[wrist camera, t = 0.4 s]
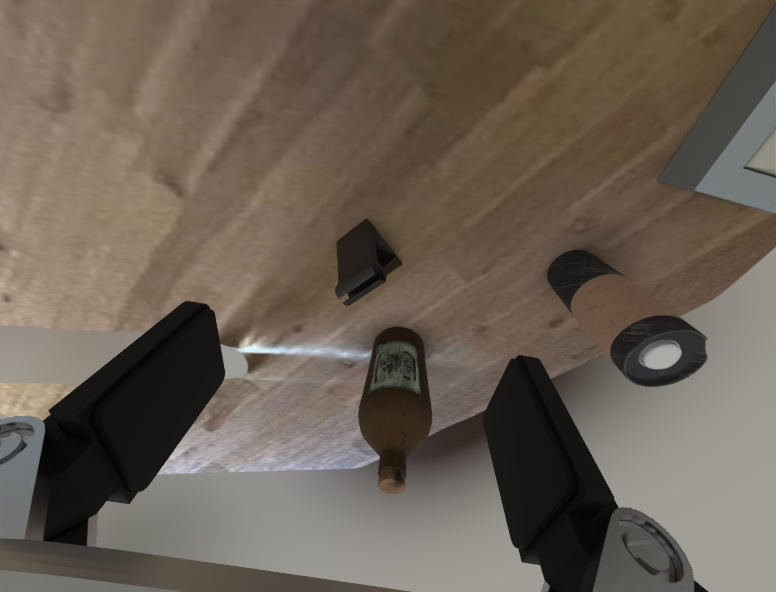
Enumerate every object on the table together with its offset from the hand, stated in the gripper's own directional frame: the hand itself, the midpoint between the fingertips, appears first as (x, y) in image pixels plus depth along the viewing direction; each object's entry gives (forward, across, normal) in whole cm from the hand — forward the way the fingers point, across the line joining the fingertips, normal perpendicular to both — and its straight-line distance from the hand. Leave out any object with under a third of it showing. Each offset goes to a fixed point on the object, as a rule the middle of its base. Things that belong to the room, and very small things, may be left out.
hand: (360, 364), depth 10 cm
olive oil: (+37, -5, +30) cm, 47 cm away
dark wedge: (+37, +2, +12) cm, 39 cm away
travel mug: (+37, -29, +9) cm, 48 cm away
